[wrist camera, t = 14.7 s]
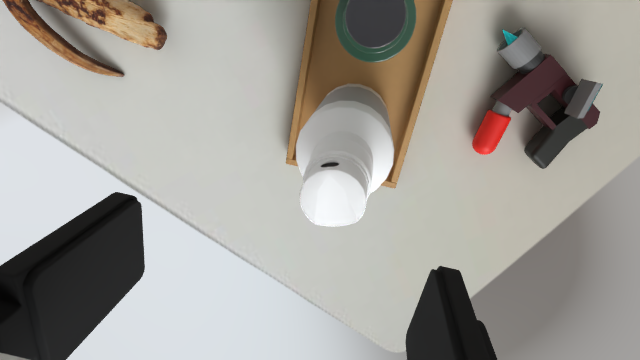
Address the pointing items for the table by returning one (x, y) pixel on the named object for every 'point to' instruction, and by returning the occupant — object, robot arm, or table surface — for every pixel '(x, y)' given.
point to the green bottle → (375, 27)
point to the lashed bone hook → (95, 10)
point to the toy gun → (537, 100)
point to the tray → (368, 73)
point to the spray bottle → (344, 154)
